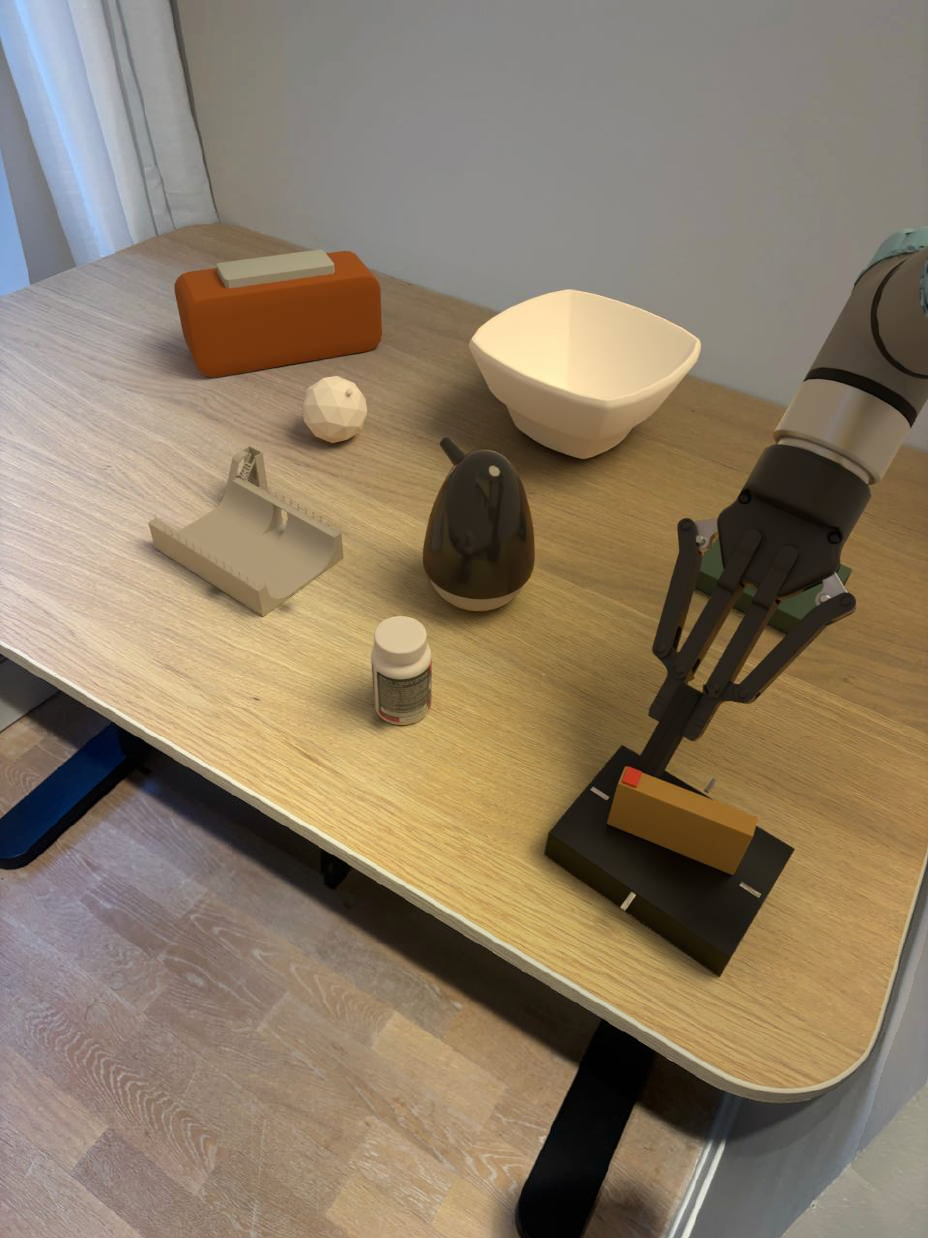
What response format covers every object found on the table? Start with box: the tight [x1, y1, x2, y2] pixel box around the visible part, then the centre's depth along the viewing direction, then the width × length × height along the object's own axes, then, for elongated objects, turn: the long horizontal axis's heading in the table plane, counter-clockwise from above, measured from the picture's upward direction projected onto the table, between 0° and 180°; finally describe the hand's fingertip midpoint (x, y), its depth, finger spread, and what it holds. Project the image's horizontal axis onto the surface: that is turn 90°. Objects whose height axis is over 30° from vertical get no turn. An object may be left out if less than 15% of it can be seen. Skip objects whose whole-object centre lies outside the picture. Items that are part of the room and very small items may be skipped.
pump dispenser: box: [422, 436, 536, 612], centre depth 77 cm, size 10×10×15 cm
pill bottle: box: [370, 615, 433, 726], centre depth 69 cm, size 5×5×8 cm
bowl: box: [468, 288, 702, 460], centre depth 98 cm, size 22×22×12 cm
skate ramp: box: [147, 445, 344, 617], centre depth 84 cm, size 15×13×5 cm
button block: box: [695, 538, 853, 634], centre depth 83 cm, size 12×10×4 cm
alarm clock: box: [174, 249, 383, 378], centre depth 110 cm, size 24×8×11 cm, turn 114°
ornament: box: [301, 375, 368, 444], centre depth 97 cm, size 7×7×8 cm
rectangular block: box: [607, 766, 759, 875], centre depth 59 cm, size 9×2×5 cm, turn 65°
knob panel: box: [543, 744, 796, 978], centre depth 62 cm, size 14×13×3 cm
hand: (648, 770), depth 60 cm, fingers closed
